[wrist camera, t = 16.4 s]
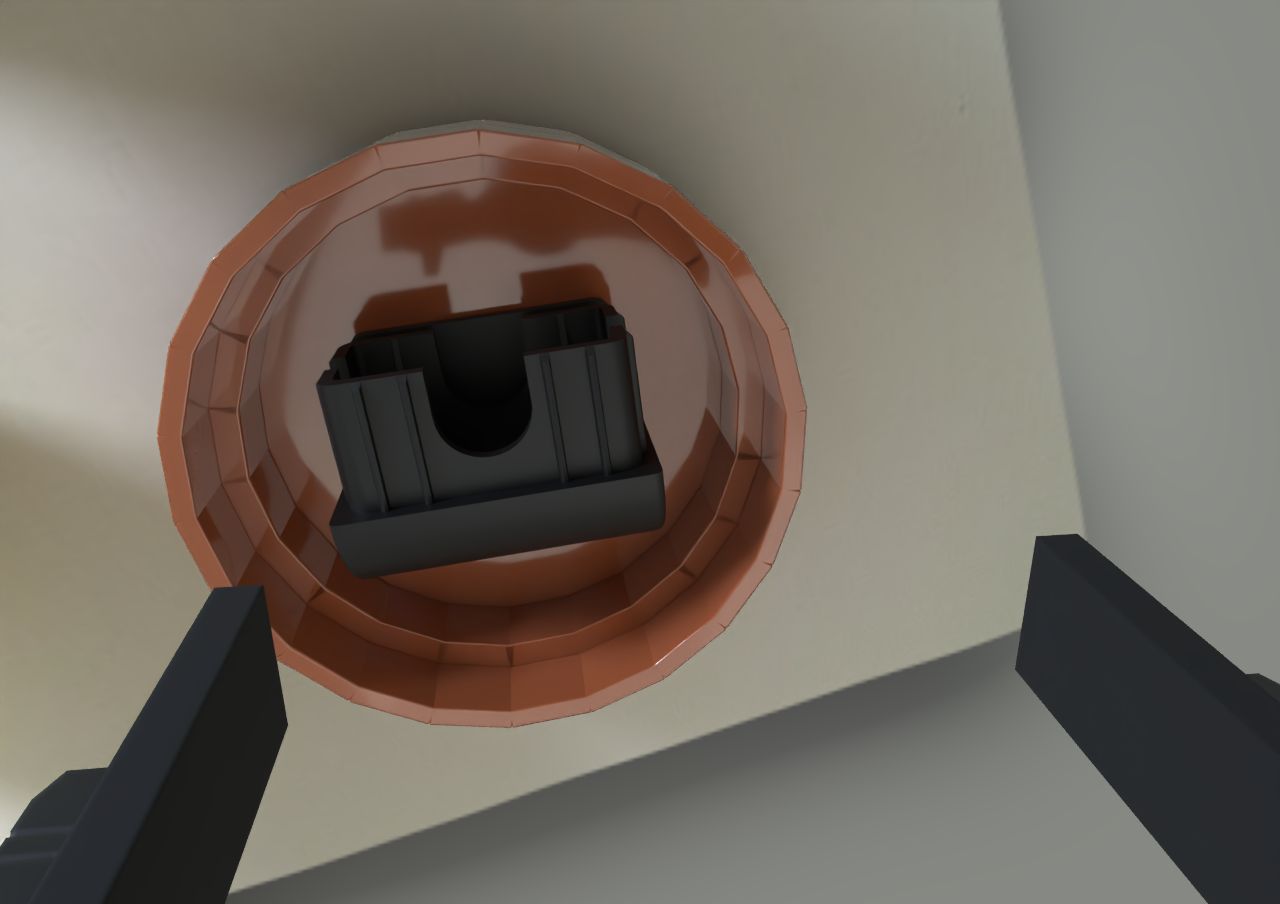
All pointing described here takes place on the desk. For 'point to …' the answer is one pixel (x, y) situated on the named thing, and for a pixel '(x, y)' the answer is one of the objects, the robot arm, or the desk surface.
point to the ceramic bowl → (457, 287)
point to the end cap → (488, 438)
